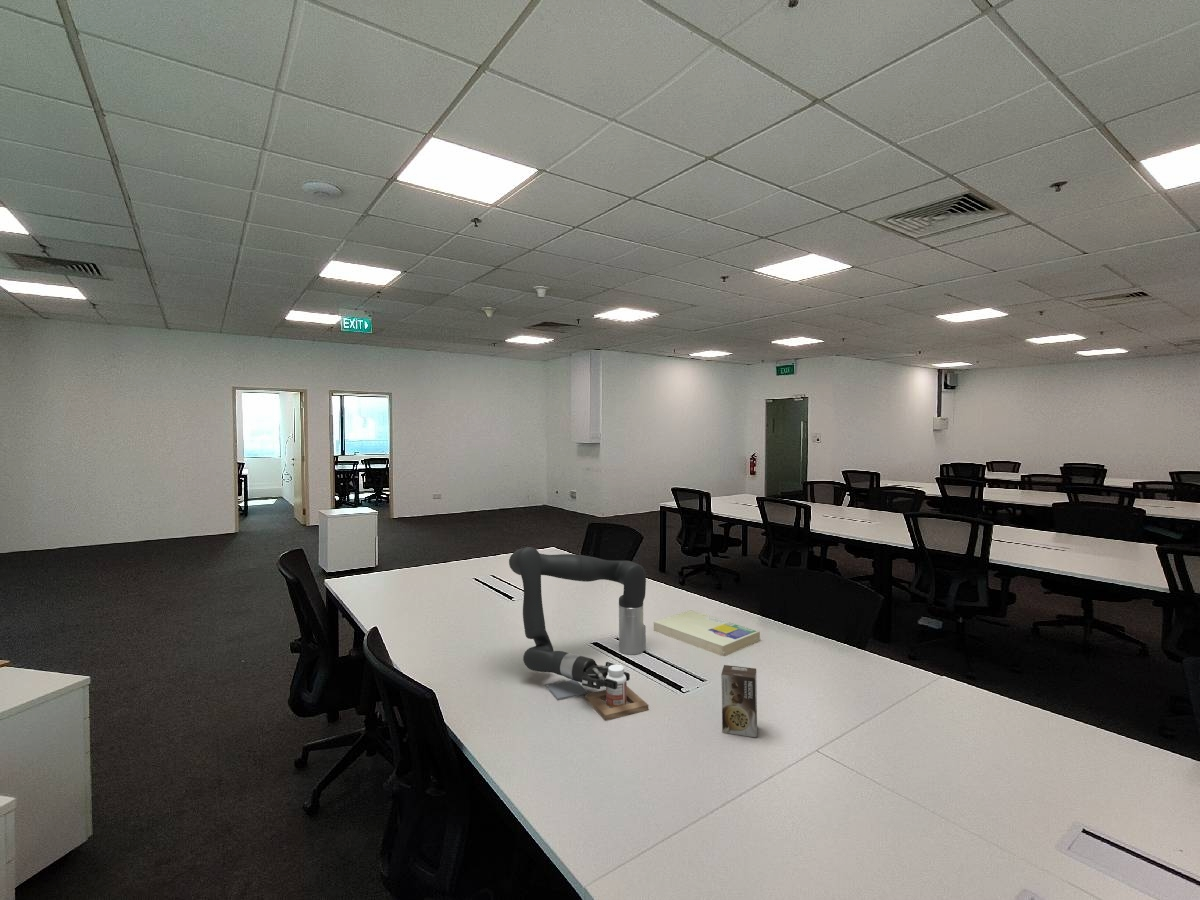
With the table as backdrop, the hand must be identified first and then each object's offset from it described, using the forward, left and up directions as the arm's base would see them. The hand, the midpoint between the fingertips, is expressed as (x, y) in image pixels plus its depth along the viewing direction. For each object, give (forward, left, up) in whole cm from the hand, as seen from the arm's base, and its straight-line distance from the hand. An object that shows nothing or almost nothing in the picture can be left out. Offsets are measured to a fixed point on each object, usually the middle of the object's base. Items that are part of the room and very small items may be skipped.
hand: (622, 681), depth 158 cm
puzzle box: (-57, -37, -8) cm, 69 cm away
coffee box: (-23, +25, -8) cm, 35 cm away
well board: (+1, -2, -8) cm, 8 cm away
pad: (+11, -17, -8) cm, 22 cm away
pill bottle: (+1, -2, -8) cm, 8 cm away
